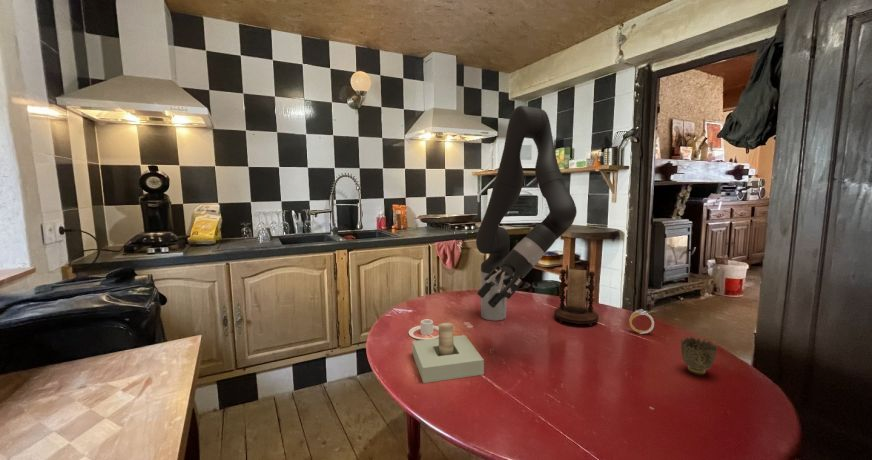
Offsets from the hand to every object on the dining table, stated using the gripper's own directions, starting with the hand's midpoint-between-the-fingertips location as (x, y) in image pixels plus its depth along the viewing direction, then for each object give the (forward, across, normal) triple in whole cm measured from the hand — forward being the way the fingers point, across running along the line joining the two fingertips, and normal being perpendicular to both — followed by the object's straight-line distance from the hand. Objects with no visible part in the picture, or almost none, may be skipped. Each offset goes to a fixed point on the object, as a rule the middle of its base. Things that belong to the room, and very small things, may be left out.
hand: (484, 300), depth 101 cm
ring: (-27, -3, +51) cm, 57 cm away
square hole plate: (+20, 0, +4) cm, 20 cm away
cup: (-23, +21, +47) cm, 57 cm away
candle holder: (+21, -22, +4) cm, 31 cm away
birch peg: (+20, 0, +4) cm, 20 cm away
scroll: (-17, -19, +42) cm, 49 cm away
